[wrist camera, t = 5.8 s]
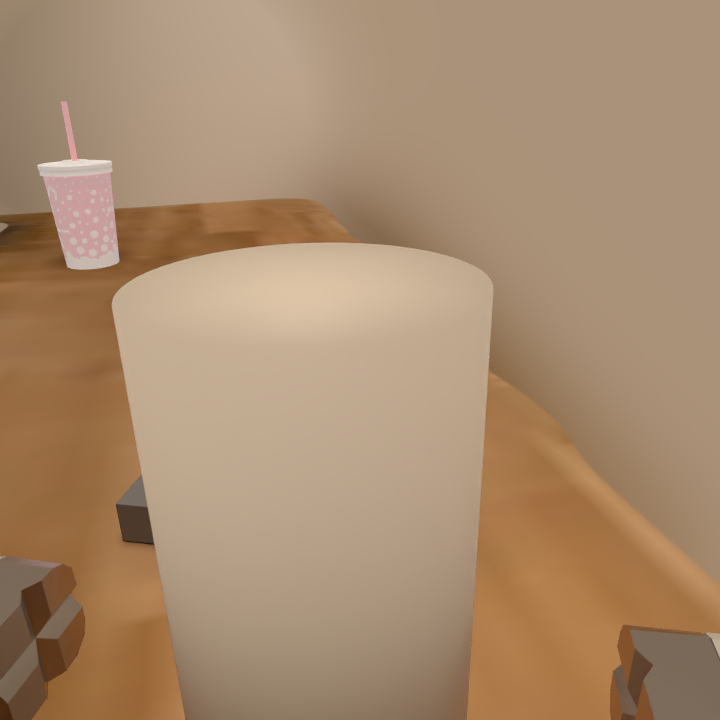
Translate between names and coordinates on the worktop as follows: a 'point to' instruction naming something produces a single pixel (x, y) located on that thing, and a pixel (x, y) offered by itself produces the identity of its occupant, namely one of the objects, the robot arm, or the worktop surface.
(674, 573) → the worktop surface
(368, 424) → the tall white cylinder
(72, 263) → the beverage cup
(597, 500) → the worktop surface
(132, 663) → the worktop surface
